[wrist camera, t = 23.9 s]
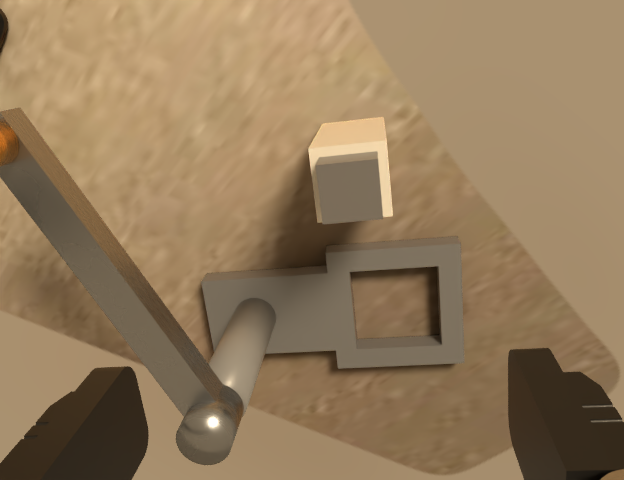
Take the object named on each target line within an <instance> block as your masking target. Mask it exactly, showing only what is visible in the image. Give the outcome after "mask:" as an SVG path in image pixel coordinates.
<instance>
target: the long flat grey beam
mask: <svg viewBox="0 0 624 480" xmlns="http://www.w3.org/2000/svg"><path fill="white" fill-rule="evenodd" d="M0 177H1V179H2V180H3V181H4V183H5V184H6V185H7V186H8V188H9V189H10V190H11V192H12V193H13V194H14V196H15V197H16V198H17V199H18V201H19V202H20V203H21V205H22V206H23V207H24V209H25V210H26V211H27V213H28V214H29V215H30V216H31V218H32V219H33V220H34V222H35V223H36V224H37V226H38V227H39V228H40V230H41V231H42V232H43V233H44V235H45V236H46V237H47V239H48V240H49V241H50V243H51V244H52V245H53V246H54V248H55V249H56V250H57V252H58V253H59V254H60V256H61V257H62V258H63V260H64V261H65V262H66V263H67V265H68V266H69V267H70V269H71V270H72V271H73V273H74V274H75V275H76V276H77V278H78V279H79V280H80V282H81V283H82V284H83V286H84V287H85V288H86V290H87V291H88V292H89V293H90V295H91V296H92V297H93V299H94V300H95V301H96V303H97V304H98V305H99V306H100V308H101V309H102V310H103V312H104V313H105V314H106V316H107V317H108V318H109V320H110V321H111V322H112V323H113V325H114V326H115V327H116V329H117V330H118V331H119V333H120V334H121V335H122V336H123V338H124V339H125V340H126V342H127V343H128V344H129V346H130V347H131V348H132V350H133V351H134V352H135V353H136V355H137V356H138V357H139V359H140V360H141V361H142V363H143V364H144V365H145V366H146V368H147V369H148V370H149V372H150V373H151V374H152V375H153V377H154V378H155V379H156V381H157V382H158V383H159V385H160V386H161V387H162V389H163V390H164V391H165V393H166V394H167V395H168V396H169V398H170V399H171V400H172V402H173V403H174V404H175V405H176V407H177V408H178V410H179V411H180V412H181V413H182V415H183V416H184V419H183V421H182V423H181V425H180V427H179V429H178V431H177V434H176V443H177V446H178V448H179V450H180V451H181V453H182V454H183V455H184V456H185V457H186V458H188V459H189V460H191V461H193V462H195V463H198V464H202V465H213V464H217V463H219V462H221V461H223V460H224V459H225V458H226V457H227V456H228V455H229V453H230V450H231V447H232V444H233V441H234V438H235V436H236V433H237V429H238V427H239V424H240V421H241V418H242V415H243V412H244V405H243V401H242V399H241V397H240V396H239V394H238V393H237V392H236V391H235V390H233V389H232V388H230V387H228V386H226V385H223V384H222V382H221V381H220V379H219V378H218V377H217V375H216V374H215V373H214V371H213V370H212V369H211V367H210V366H209V364H208V363H207V362H206V360H205V359H204V358H203V356H202V355H201V354H200V352H199V351H198V349H197V348H196V347H195V345H194V344H193V343H192V341H191V340H190V339H189V337H188V336H187V334H186V333H185V332H184V330H183V329H182V328H181V326H180V325H179V324H178V322H177V321H176V319H175V318H174V317H173V315H172V314H171V313H170V311H169V310H168V309H167V307H166V306H165V304H164V303H163V302H162V300H161V299H160V298H159V296H158V295H157V294H156V292H155V291H154V290H153V288H152V287H151V285H150V284H149V283H148V281H147V280H146V279H145V277H144V276H143V275H142V273H141V272H140V270H139V269H138V268H137V266H136V265H135V264H134V262H133V261H132V260H131V258H130V257H129V255H128V254H127V253H126V251H125V250H124V249H123V247H122V246H121V245H120V243H119V242H118V240H117V239H116V238H115V236H114V235H113V234H112V232H111V231H110V230H109V228H108V227H107V225H106V224H105V223H104V221H103V220H102V219H101V217H100V216H99V215H98V213H97V212H96V210H95V209H94V208H93V206H92V205H91V204H90V202H89V201H88V200H87V198H86V197H85V195H84V194H83V193H82V191H81V190H80V189H79V187H78V186H77V185H76V183H75V182H74V180H73V179H72V178H71V176H70V175H69V174H68V172H67V171H66V170H65V168H64V167H63V165H62V164H61V163H60V161H59V160H58V159H57V157H56V156H55V155H54V153H53V152H52V150H51V149H50V148H49V146H48V145H47V144H46V142H45V141H44V140H43V138H42V137H41V135H40V134H39V133H38V131H37V130H36V129H35V127H34V126H33V125H32V123H31V122H30V120H29V119H28V118H27V116H26V115H25V114H24V112H23V111H22V110H21V108H15V109H11V110H6V111H1V112H0Z"/></svg>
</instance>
